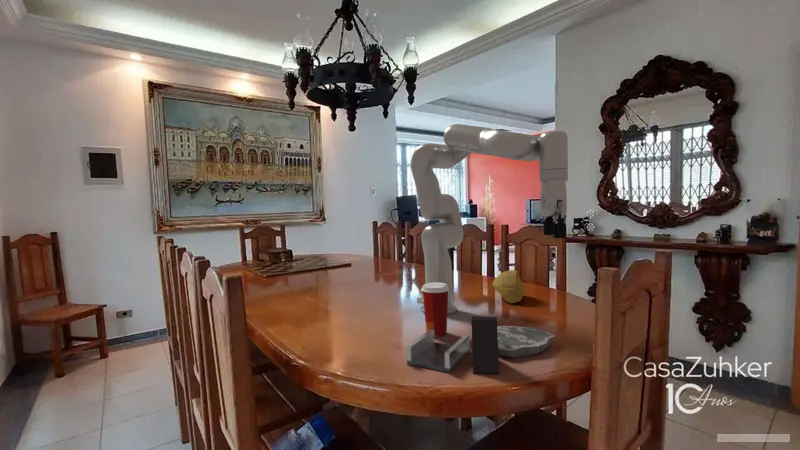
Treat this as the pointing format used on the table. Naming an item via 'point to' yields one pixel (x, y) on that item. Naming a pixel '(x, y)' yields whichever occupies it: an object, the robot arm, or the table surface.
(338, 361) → the table surface
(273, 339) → the table surface
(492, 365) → the phone stand
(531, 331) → the brain slice
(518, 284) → the decorative stone
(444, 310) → the coffee cup
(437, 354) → the guide cradle
